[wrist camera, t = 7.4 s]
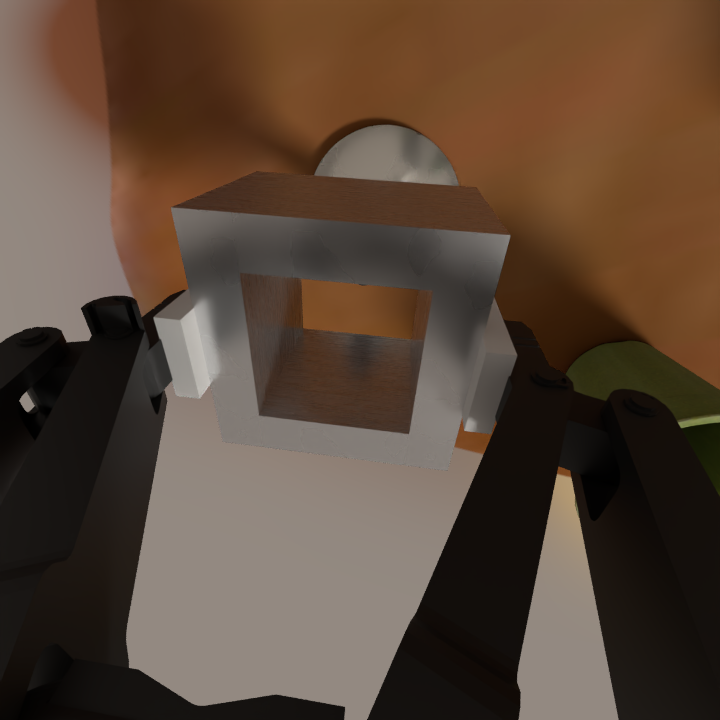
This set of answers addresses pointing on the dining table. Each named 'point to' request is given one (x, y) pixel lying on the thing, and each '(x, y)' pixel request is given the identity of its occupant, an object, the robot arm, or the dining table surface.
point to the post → (388, 157)
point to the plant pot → (656, 392)
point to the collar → (337, 349)
